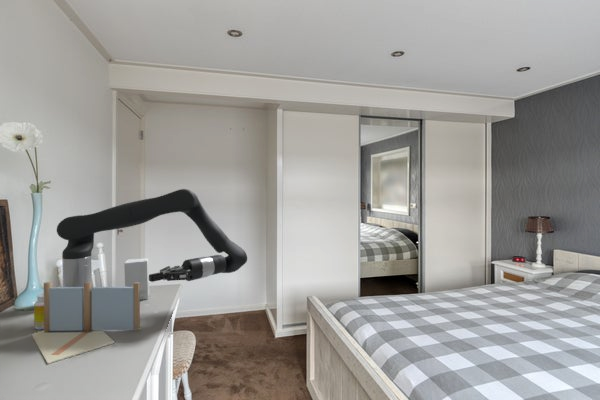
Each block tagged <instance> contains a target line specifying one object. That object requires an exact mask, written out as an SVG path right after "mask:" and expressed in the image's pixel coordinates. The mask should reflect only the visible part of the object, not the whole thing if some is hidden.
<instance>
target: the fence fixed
mask: <svg viewBox="0 0 600 400" xmlns="http://www.w3.org/2000/svg"><path fill="white" fill-rule="evenodd" d="M91 288H93V282H85V283H84V287H63V286H56V287H55V286H53V282H52V281H46V282H44V283H43V293H44V329H43V331H44V332H45V333H48V332H50V331H70V330H83V329H84V332H89V331H91V330H92V289H91Z"/></svg>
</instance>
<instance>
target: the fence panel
mask: <svg viewBox="0 0 600 400" xmlns="http://www.w3.org/2000/svg"><path fill="white" fill-rule="evenodd" d="M91 289H92V330H102V331H126V330H128V331H133V330H134V331H137V330H140V328H141V310H140V309H141V300H140V282H135V283H133V287H125V286H92V288H91Z"/></svg>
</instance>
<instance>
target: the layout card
mask: <svg viewBox="0 0 600 400" xmlns="http://www.w3.org/2000/svg"><path fill="white" fill-rule="evenodd" d="M31 336H32V338H33V340H34V342H35V343H36V345H37V348H39V351H40V353H41V354H42V356H43V358H44V359H45V361H46V363H47V365H50V364H53V363H56V362H60V361H63V360H66V359H68V358H73V357H76V356H77V355H81V354H85V353H87V352H90V351H94V350H97V349H99V348H103V347H106V346H109V345H112V344H114V343H115V341H114V340H113V339H112V338H111V337H110V336H109V335H108V334H107V333H106V332H105V330H91V331H89V332H84V329H83V330H70V331H50V332H48V333H45V332H44V330H42V331H38V332H34V333H31Z"/></svg>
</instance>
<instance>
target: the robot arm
mask: <svg viewBox="0 0 600 400" xmlns="http://www.w3.org/2000/svg"><path fill="white" fill-rule="evenodd" d="M174 213H184V214H185V215H186V216H187V217H188V218H190V219H191V220H192V221H193V222H194V224H195V225H196V226H197V227H198V230H199V231H200V233H201V234H202V235H203V237H204V239H205V240H206V241H207V242H208V244H209V245H210V246H211V247H212V248H213V249H214V251H216V253H218V254H215V255H210V256H201V257H194V258H189V259H185V260H184V261H183V262H182V264H181V266H180V265H174V266H173V267H171V265H168V266H166V267H163V268H161V269H160V270H159V271H158V272H155V273H149V282H151V283H154V282H159V281H161V280H163V281H167V282H170V281H187V282H190V281H196V280H199V279H204V278H208V277H210V276H213V275H217V274H218V275H219V274H220V273H221V274H230V273H234V272H236V271H238V270H239V269H241V267H243V266H244V265H245V264H246V263H247V262H248V256H247V253H246V251H245V250H244V249H243V248H242V247H241V246H239V245H238V244H236V243H235V242H234V241H232V240H231V239H230V238H229V236H227V234H226V233H225V232H224V231H223V230H222V229H221V228H220V227H219V225H218V224H217V223H216V222H215V221H214V220H213V219H212V217H211V216H209V214H208V212H207V211H206V209H205V208H204V206H203V205H202V203H201V201H200V200H199V198H198V196H197V194H195V192H193V191H191V190H190V189H186V188H182V189H181V188H180V189H177V190H174V191H171V192H169V193H165V194H162V195H160V196H156V197H150V198H145V199H141V200H135V201H131V202H127V203H122V204H120V205H119V204H118V205H116V206H111V207H110V208H109V207H108V208H107V209H103V210H101V211H98V212H95V213H90V214H83V215H82V214H81V215H72V216H68V217H65V218H64V219H62V220H61V221H60V222H59V223H58V224H57V226H56V233H57V235H58V236H59V238H61V239H63V240H65V241H67V244H66V247H65V248H64V249H63V250H62V254H61V255H62V256H61V257H62V261H61V262H62V287H84V283H85V282H92V250H93V248H94V245H95V244H94V242H95V241H94V240H95V234H96V233H100V232H104V231H106V232H107V231H113V230H119V229H125V228H129V227H134V226H138V225H142V224H144V223H147V222H149V221H151V220H153V219H155V218H157V217H160V216H163V215H167V214H174ZM221 253H225V254H227V255H226V256H224V255H222V254H221ZM92 283H93V282H92Z"/></svg>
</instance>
